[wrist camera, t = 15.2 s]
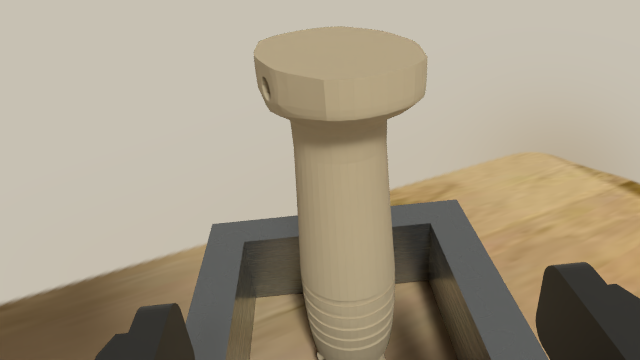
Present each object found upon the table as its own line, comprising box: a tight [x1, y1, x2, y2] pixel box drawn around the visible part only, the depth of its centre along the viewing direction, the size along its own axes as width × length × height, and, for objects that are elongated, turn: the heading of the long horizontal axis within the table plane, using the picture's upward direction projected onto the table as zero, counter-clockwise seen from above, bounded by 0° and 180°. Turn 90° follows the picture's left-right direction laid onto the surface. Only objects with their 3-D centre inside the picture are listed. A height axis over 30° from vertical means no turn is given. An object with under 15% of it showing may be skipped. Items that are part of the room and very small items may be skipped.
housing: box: [185, 200, 549, 360], centre depth 21 cm, size 14×14×4 cm
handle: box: [254, 27, 427, 360], centre depth 19 cm, size 5×6×15 cm
